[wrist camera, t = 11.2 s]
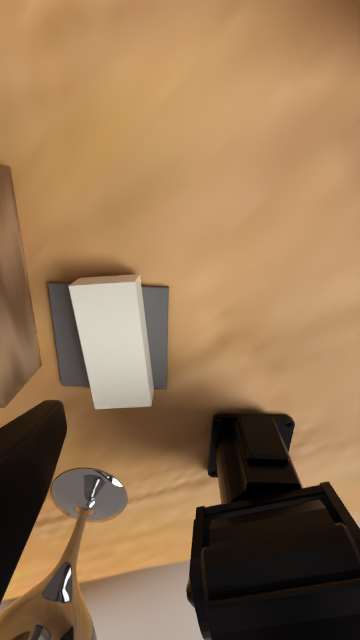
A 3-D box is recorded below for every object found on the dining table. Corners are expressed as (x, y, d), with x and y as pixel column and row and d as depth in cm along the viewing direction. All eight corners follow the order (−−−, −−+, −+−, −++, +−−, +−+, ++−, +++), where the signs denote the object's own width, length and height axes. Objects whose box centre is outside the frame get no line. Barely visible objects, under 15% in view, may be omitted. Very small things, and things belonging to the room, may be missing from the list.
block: (153, 389, 23) (151, 406, 21) (102, 392, 23) (95, 409, 21) (140, 273, 19) (135, 281, 17) (79, 277, 19) (68, 286, 18)
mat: (166, 386, 23) (166, 389, 23) (63, 382, 23) (61, 385, 23) (168, 286, 20) (168, 288, 20) (50, 282, 20) (47, 283, 20)
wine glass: (132, 526, 29) (85, 824, 15) (51, 522, 29) (-71, 818, 15) (131, 466, 26) (70, 769, 12) (41, 462, 26) (-123, 761, 12)
